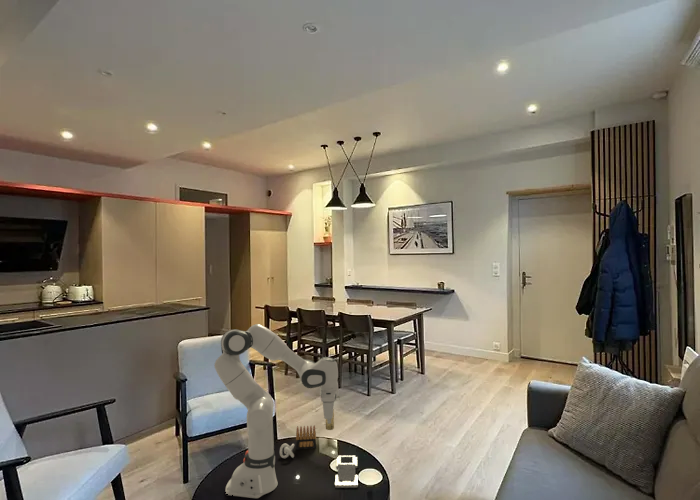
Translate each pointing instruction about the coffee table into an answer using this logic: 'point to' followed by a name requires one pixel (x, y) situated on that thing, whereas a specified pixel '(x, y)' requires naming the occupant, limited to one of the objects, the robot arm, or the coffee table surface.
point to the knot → (287, 450)
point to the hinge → (346, 472)
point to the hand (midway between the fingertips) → (329, 420)
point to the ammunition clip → (306, 438)
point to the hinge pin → (331, 426)
